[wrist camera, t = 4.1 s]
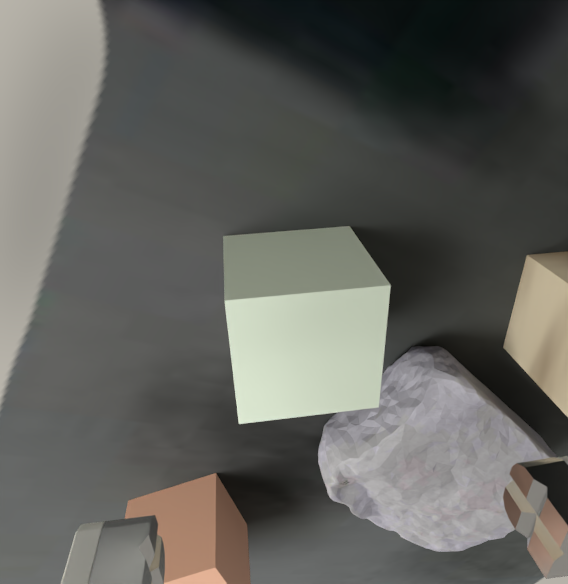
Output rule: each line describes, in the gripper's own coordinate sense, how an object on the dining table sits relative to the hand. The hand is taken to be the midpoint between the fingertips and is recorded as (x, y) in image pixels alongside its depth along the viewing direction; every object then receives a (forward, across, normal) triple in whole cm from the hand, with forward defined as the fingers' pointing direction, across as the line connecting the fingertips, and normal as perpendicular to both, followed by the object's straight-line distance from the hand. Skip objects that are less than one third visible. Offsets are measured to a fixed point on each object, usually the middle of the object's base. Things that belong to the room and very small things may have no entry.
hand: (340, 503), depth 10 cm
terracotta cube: (+10, +6, +14) cm, 18 cm away
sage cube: (+10, 0, 0) cm, 10 cm away
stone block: (+11, -7, +10) cm, 17 cm away
